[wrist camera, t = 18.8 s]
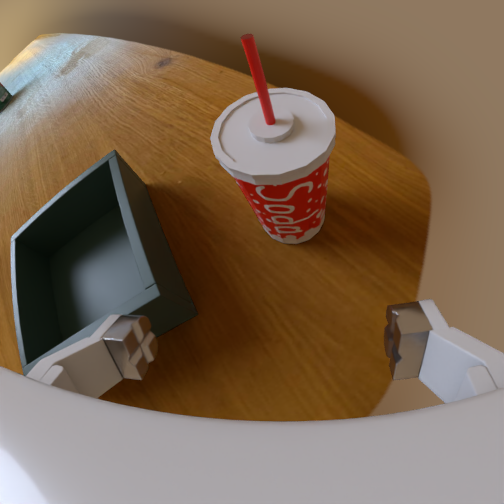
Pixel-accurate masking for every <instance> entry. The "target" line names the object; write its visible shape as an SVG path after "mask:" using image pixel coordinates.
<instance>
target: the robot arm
mask: <svg viewBox="0 0 504 504" xmlns="http://www.w3.org/2000/svg"><path fill="white" fill-rule="evenodd" d="M386 318H387V321H388V325H387V326H386V327H385V331H384V346H385V352H386V356H387V357H389V358H390V363H389V367H390V371H391V375H392V379H393V380H400V379H409V378H416V377H418V379H419V380H421V381H422V382H423V383H424V384H425V385H426V386H427V387H428V388H429V389H430V390H432V391H433V392H434V393H435V394H436V395H437V396H438V397H439V398H440V399H441V400H443V401H444V402H445V404H441V405H436V406H432V407H427V408H422V409H417V410H412V411H406V412H399V413H393V414H386V415H379V416H371V417H362V418H352V419H340V420H324V421H245V420H228V419H215V418H205V417H195V416H187V415H179V414H172V413H165V412H159V411H153V410H147V409H142V408H137V407H131V406H127V405H122V404H117V403H113V402H109V401H104V400H100V399H97V398H98V397H100V396H101V395H102V394H104V393H105V392H106V391H108V390H109V389H110V388H112V387H113V386H114V385H116V384H117V383H118V382H120V381H121V380H122V379H123V378H128V379H136V380H142V379H143V377H144V376H145V374H146V372H147V371H148V369H149V365H148V363H150V362H151V361H153V360H154V359H155V357H156V356H157V352H158V341H157V338H156V336H155V335H154V334H153V333H152V332H151V331H150V329H151V326H152V325H151V323H150V321H149V318H148V317H146V316H141V315H122V314H113V315H110V316H109V317H108V318H107V319H106V320H105V321H104V322H103V323H102V325H101V326H100V327H99V328H98V329H97V330H96V331H95V332H94V333H93V334H92V336H91V337H90V338H89V337H86V338H84V339H82V340H80V341H78V342H76V343H74V344H72V345H70V346H68V347H66V348H64V349H62V350H60V351H58V352H56V353H54V354H52V355H50V356H47V357H45V358H43V359H41V360H40V361H39V362H38V363H37V364H36V365H35V366H34V368H33V369H32V370H31V371H30V372H29V373H28V374H27V375H26V376H24V375H21V374H18V373H16V372H13V371H11V370H9V369H6V368H4V367H1V366H0V504H504V353H502V352H500V351H498V350H496V349H495V348H493V347H491V346H489V345H487V344H485V343H483V342H481V341H479V340H478V339H476V338H474V337H472V336H470V335H468V334H466V333H464V332H462V331H460V330H459V329H457V328H455V327H450V328H449V326H448V325H447V322H446V321H445V319H444V318H443V316H442V314H441V312H440V311H439V309H438V308H437V306H436V304H435V303H434V301H433V300H432V299H427V300H421V301H417V302H410V303H402V304H395V305H388V306H387V310H386Z"/></svg>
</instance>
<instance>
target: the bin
mask: <svg viewBox="0 0 504 504" xmlns="http://www.w3.org/2000/svg"><path fill="white" fill-rule="evenodd" d="M11 283H12V298H13V310H14V319H15V327H16V335H17V341H18V348H19V353H20V359H21V364H22V368H23V374H24V376H26V375H27V374H28V373H29V372H30V371H31V370H32V369H33V368H34V366H35V365H36V364H37V363H38V362H39V361H40V360H41V359H43V358H45V357H47V356H50V355H52V354H54V353H56V352H58V351H60V350H62V349H64V348H66V347H68V346H70V345H72V344H74V343H76V342H78V341H80V340H82V339H84V338H86V337H89V338H90V337H91V336H92V334H93V333H94V332H95V331H96V330H97V329H98V328H99V327H100V326H101V325H102V323H103V322H104V321H105V320H106V319H107V318H108V317H109V316H110V315H113V314H122V315H141V316H146V317H148V318H149V321H150V323H151V325H152V326H151V329H150V331H151V332H152V333H153V334H154V335H155V336H156V337H158V336H160V335H162V334H164V333H166V332H167V331H169V330H171V329H173V328H175V327H176V326H178V325H180V324H182V323H184V322H185V321H187V320H189V319H191V318H193V317H194V316H196V315H198V313H197V311H196V308H195V306H194V304H193V302H192V299H191V297H190V295H189V293H188V290H187V288H186V286H185V283H184V281H183V279H182V276H181V274H180V272H179V269H178V267H177V265H176V262H175V260H174V257H173V255H172V253H171V250H170V248H169V245H168V243H167V240H166V238H165V235H164V233H163V230H162V228H161V225H160V222H159V220H158V217H157V215H156V212H155V209H154V207H153V204H152V201H151V199H150V196H149V193H148V190H147V188H146V185H145V183H144V182H143V181H142V180H141V179H140V178H139V176H138V175H137V174H136V173H135V172H134V171H133V170H132V169H131V167H130V166H129V165H128V164H127V163H126V162H125V161H124V159H123V158H122V157H121V156H120V155H119V154H118V153H117V151H116V150H113V151H112V152H110V153H109V154H107V155H106V156H105V157H103V158H102V159H101V160H99V161H98V162H97V163H95V164H94V165H93V166H91V167H90V168H89V169H87V170H86V171H85V172H83V173H82V174H81V175H80V176H78V177H77V178H76V179H75V180H73V181H72V182H71V183H70V184H69V185H67V186H66V187H65V188H64V189H63V190H61V191H60V192H59V193H58V194H57V195H56V196H54V197H53V198H52V199H51V200H50V201H49V202H48V203H46V204H45V205H44V206H43V207H42V208H41V209H40V210H39V211H38V212H37V213H35V214H34V215H33V216H32V217H31V218H30V219H29V220H28V221H27V222H26V223H25V224H24V225H23V226H22V227H21V228H20V229H19V230H18V231H17V232H16V233H15V234H14V235H13V236H12V237H11Z"/></svg>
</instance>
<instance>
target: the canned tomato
mask: <svg viewBox="0 0 504 504" xmlns="http://www.w3.org/2000/svg"><path fill="white" fill-rule="evenodd" d="M11 99H12V95H11V94H10V93H9V92H8V91H7V89H6V88H5V87H4V86H3V85H2V84H1V83H0V112H1V111H2V110H3V109H4V108H5V107H6V106H7V104H8V103H9V102H10V100H11Z"/></svg>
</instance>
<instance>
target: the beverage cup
mask: <svg viewBox="0 0 504 504" xmlns="http://www.w3.org/2000/svg"><path fill="white" fill-rule="evenodd" d="M241 41H242V44H243V47H244V50H245V53H246V57H247V60H248V63H249V66H250V70H251V73H252V76H253V80H254V83H255V87H256V90H257V92H255V93H252V94H249V95H246V96H244V97H242V98H241V99H239V100H238V101H236V102H235V103H233V104H231V105H230V106H228V107H227V108H226V109H225V110H224V112H223V113H222V114H221V115H220V116H219V118H218V119H217V120H216V121H215V124H214V127H213V131H212V134H211V137H210V139H211V143H212V147H213V151H214V155H215V157H216V158H217V159H218V160H219V162H220V165H221V166H222V167H223V168H225V169H226V170H227V171H228V172H229V173H230V174H231V175H232V176H233V177H234V179H235V180H236V182H237V184H238V185H239V187H240V189H241V190H242V192H243V194H244V195H245V197H246V199H247V200H248V202H249V204H250V206H251V207H252V209H253V211H254V212H255V214H256V216H257V217H258V219H259V221H260V223H261V224H262V226H263V228H264V229H265V231H266V232H267V233H268V234H269V235H270V236H271V237H272V238H273V239H275V240H277V241H280V242H282V243H287V244H298V243H301V242H304V241H307V240H309V239H311V238H312V237H313V236H314V235H315V234H317V233H318V232H319V230H320V228H321V226H322V224H323V222H324V217H325V207H326V195H327V183H328V169H329V155H330V153H331V151H332V149H333V147H334V145H335V137H336V133H335V117H334V114H333V113H332V112H331V110H330V109H329V108H328V106H327V105H326V103H325V102H324V101H322V100H321V99H319V98H317V97H316V96H314V95H312V94H310V93H309V92H305V91H300V90H295V89H290V88H277V89H268V88H267V84H266V80H265V77H264V73H263V69H262V65H261V62H260V58H259V55H258V51H257V47H256V44H255V40H254V37H253V35H252V34H246V35H243V36H242V37H241Z"/></svg>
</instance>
